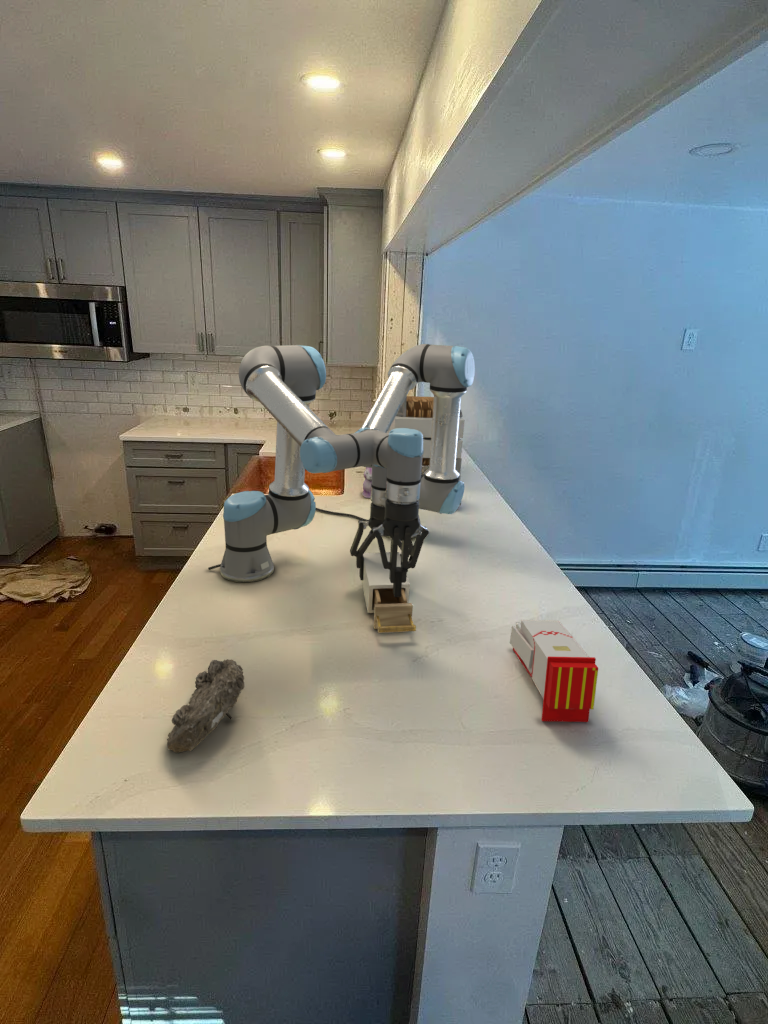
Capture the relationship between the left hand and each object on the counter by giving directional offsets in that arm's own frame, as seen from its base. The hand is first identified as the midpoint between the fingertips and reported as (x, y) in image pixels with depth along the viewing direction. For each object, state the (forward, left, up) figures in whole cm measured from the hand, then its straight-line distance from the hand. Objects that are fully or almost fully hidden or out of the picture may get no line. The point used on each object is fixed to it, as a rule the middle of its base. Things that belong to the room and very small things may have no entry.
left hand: (396, 594), depth 133 cm
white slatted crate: (-30, +144, -12) cm, 147 cm away
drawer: (-4, +7, -11) cm, 14 cm away
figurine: (-40, +101, -12) cm, 109 cm away
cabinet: (-9, +18, -11) cm, 22 cm away
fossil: (-24, -40, -12) cm, 48 cm away
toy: (+35, -5, -12) cm, 38 cm away
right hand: (-10, +22, -8) cm, 25 cm away
